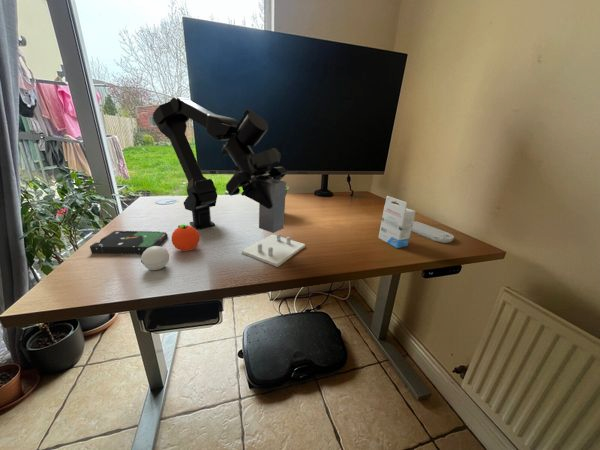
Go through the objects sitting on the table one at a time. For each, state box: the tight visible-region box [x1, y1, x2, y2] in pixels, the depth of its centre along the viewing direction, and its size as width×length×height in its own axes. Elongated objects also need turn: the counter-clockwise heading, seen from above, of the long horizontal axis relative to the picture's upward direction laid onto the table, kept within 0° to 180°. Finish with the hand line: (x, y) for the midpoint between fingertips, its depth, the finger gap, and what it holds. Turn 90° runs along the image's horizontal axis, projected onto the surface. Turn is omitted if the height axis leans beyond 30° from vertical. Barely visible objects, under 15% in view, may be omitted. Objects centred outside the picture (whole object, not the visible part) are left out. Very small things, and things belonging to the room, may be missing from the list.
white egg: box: [140, 245, 170, 271], centre depth 55 cm, size 8×6×6 cm
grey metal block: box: [258, 179, 287, 234], centre depth 64 cm, size 5×4×13 cm
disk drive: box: [89, 230, 169, 255], centre depth 66 cm, size 10×3×15 cm
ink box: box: [378, 195, 416, 249], centre depth 76 cm, size 8×5×15 cm, turn 26°
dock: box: [241, 233, 306, 268], centre depth 68 cm, size 12×14×3 cm
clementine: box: [171, 224, 201, 252], centre depth 65 cm, size 8×7×7 cm
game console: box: [411, 220, 455, 244], centre depth 87 cm, size 18×2×8 cm
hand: (276, 205), depth 63 cm, fingers closed on grey metal block, 5 cm apart
